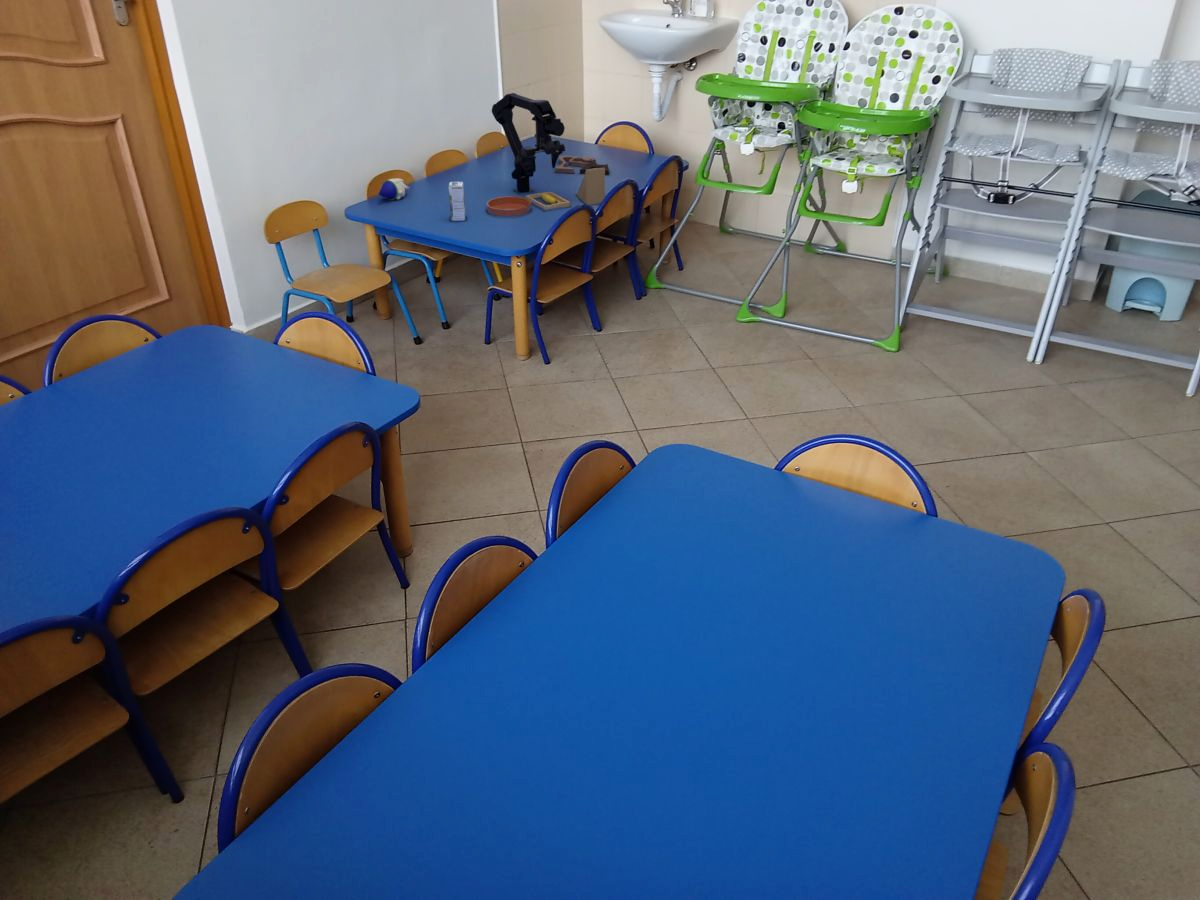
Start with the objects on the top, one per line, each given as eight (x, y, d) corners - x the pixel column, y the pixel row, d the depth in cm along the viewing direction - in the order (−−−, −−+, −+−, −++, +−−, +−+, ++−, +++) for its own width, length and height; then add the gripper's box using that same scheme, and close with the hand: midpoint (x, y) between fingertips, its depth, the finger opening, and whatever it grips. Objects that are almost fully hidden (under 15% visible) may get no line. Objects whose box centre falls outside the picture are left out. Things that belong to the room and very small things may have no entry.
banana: (538, 199, 387) (537, 191, 385) (545, 198, 389) (545, 190, 387) (550, 206, 379) (550, 198, 377) (558, 205, 380) (557, 197, 379)
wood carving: (608, 175, 420) (616, 161, 439) (608, 170, 419) (616, 157, 438) (550, 172, 424) (560, 159, 444) (550, 168, 423) (560, 155, 442)
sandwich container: (594, 192, 397) (594, 158, 388) (605, 202, 384) (605, 167, 376) (576, 194, 394) (575, 160, 386) (586, 204, 382) (586, 169, 374)
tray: (525, 200, 388) (525, 195, 387) (550, 195, 393) (550, 191, 392) (544, 211, 375) (544, 206, 374) (569, 206, 380) (569, 201, 379)
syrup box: (451, 216, 369) (448, 181, 361) (466, 216, 369) (463, 181, 362) (451, 221, 364) (447, 185, 356) (465, 220, 365) (462, 185, 357)
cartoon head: (411, 199, 398) (384, 210, 383) (395, 185, 399) (367, 196, 383) (418, 183, 393) (391, 194, 377) (402, 170, 394) (374, 180, 378)
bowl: (480, 208, 379) (479, 200, 377) (518, 201, 387) (518, 193, 385) (498, 220, 365) (498, 212, 364) (538, 212, 373) (538, 205, 372)
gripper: (531, 139, 366) (533, 177, 375) (571, 133, 374) (572, 171, 383) (519, 133, 374) (521, 171, 383) (558, 128, 382) (559, 165, 391)
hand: (544, 169), depth 384 cm, fingers open, 9 cm apart
